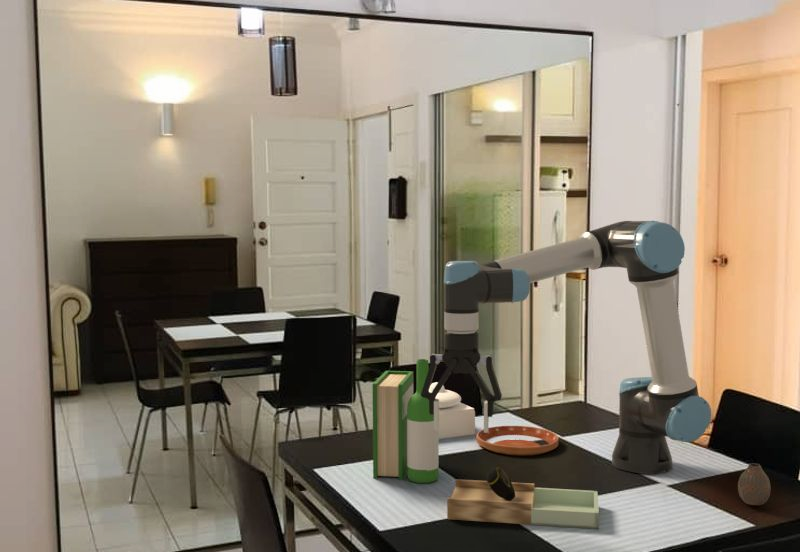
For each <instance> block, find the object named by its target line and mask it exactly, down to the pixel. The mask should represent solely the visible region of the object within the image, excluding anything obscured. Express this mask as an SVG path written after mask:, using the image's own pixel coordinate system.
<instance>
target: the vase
mask: <svg viewBox="0 0 800 552" xmlns="http://www.w3.org/2000/svg"><path fill="white" fill-rule="evenodd" d="M770 482H771V481H770V479H769V476H768V475H767V474H766V473H765V471H764V470H763V468H762V466H761V465H760V463H753V462H752V463H749V464H748V466H747V468H746V469H744V471H743V472H741V474H740V476H739V478H738V482H737V491H738V495H739V497H740V498H741V500H742V501H743V503H745V504H748V505H750V506H762V505H763V504H765V503H767V502H768V500H769V497H770V496H771V483H770Z"/></svg>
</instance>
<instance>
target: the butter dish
mask: <svg viewBox="0 0 800 552" xmlns="http://www.w3.org/2000/svg"><path fill="white" fill-rule="evenodd" d="M438 382H439V381H438ZM438 382H437V381H436V382H431V385H430V388H429V392H430V393H432V391H433V390H434V388H435V387H436V385H437V383H438ZM435 399H439V428H438V440H441V439H448V438H449V439H450V438H456V437H464V436H470V435H476V411H475V408H474V407H471V406H469V405H467V404H465V403H462V402H461V401H462V397H461V395H460V394H458V393H457V392H455V391H452V390H449V389H445V386H444V385H443V386H442V388H441V389H440V391H439V392H438V394H437V396H436V397H435Z"/></svg>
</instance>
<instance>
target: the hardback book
mask: <svg viewBox="0 0 800 552" xmlns="http://www.w3.org/2000/svg"><path fill="white" fill-rule="evenodd" d="M413 394H414V371H407V370H403V371H402V370H401V371H400V370H385V371H384V372H383V373H382V374H381V375H380V376H379V377H378V378H377V379H376V380H374V382H373V383H372V475H373V477H372V478H373V479H375V478H376V479H378V478H379V477H398V480H399V481H403V480H404V478H405V476H406V474H407V405H408V401H409V399H410V398H411V397H412V395H413ZM377 477H378V478H377Z"/></svg>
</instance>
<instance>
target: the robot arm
mask: <svg viewBox="0 0 800 552" xmlns="http://www.w3.org/2000/svg"><path fill="white" fill-rule="evenodd" d="M685 251H686V250H685V242H684V239H683V236H682V235H681V233H680V232H679V231H678V229H677V228H675V227H674V226H672V225H671V224H669V223H667V222H661V221H657V220H633V221H632V220H622V221H618V222H614V223H611V224H607V225H605V226H603V227H598V228H596V229H595V228H594V229H593V230H588V231H586V232H585V231H584V232H583V233H582V234H580V237H579V238H575V239H570V240H568V241H564V242H560V243H556V244H552V245H549V246H545V247H541V248H537V249H534V250H530V251H526V252H523V253H519V254H514V255H511V256H507V257H503V258H499V259H495V260H494V261H493V260H492V261H488V262H485V263H484V262H483V263H482V264H479V262H477V261H475V260H451V261H448V262H447V263H446V264H445V266H444V277H443V284H444V286H443V287H444V311H443V313H444V316H443V318H444V320H443V322H444V324H443V327H444V330H445V332H444V335H443V336H444V337H443V338H444V340H443V343H444V345H443V347H444V351H443V353H442V354H439V353H432V354H431V355H430V356H429V371H428V374H427V377H426V380H425V383H424V386H423V389H422V392H421V396H422V397H425V398H427V399H428V400H429V413H430V414H434V430H438V428H439V399H435V397H436V396H437V394H438V392H439V391H440V389H441V388H442V386H444V384H445V382H446V381H447V380H448V378H449V376H450V375H451V374H452V373H453V374H464V375H466V374H467V375H468V374H469V375H470V376H471V377H472V378H473V380H474V381H475V383H476V385H477V386H478V388H479V390H480V391H481V393H482V394H483V396H484V398H485V399H486V400H484V403H483V429H484V433H487V432H488V428H489V418H493V415H494V407H495V405H494V403H495V402H497V401H501V399H502V396H503V393H502V392H501V388H500V385H499V381H498V379H497V376H496V375H497V374H496V372H495V369H494V365H493V363H494V362H493V361H494V357H493V355H491V354H489V355H481V354H480V352H479V333H478V330H479V310H480V309H479V305H480V304H496V303H497V304H498V303H499V304H502V303H511V304H513V303H517V302H523V301H525V300H526V299H528V297H529V294H530V292H531V291H530V290H531V284H532V283H537V282H539V281H544V280H546V279H547V280H548V279H551V278H554V277H557V276H562V275H565V274H569V273H572V272H575V271H580V270H583V269H586V268H588V269H590V270H593V271H594V270H599V269H603V268H625V269H626V273H627V278H628V282H629V283H631V284H632V285H633V286H634V287H635V288H636V292H637V297H638V302H639V303H638V305H639V309H640V316H641V322H642V327H643V333H644V339H645V345H646V350H647V356H648V361H649V368H650V374H651V376H645V377H644V376H642V377H641V376H640V377H628V378H624V379H622V380H621V382H620V383H619V384H620V385H619V392H618V395H619V406H618V407H619V410H618V411H619V415H618V416H619V425H618V427H619V428H618V430H619V431H618V436H617V440H616V443H615V446H614V448H613V451H612V454H611V464H612V466H613V467H615V468H616V469H619V470H621V471H625V472H630V473H635V474H637V473H638V474H661V473H666V472H669V471H671V470H672V469H673V458H672V455H671V452H670V448H669V444H668V442H667V438H669V439H671V440H673V441H677V442H678V441H679V442H682V443H690V442H691V443H692V442H694V441H696V440H698V439H700V437H702V436H703V435H704V434H705V433H706V430H707V429H708V428H709V426H710V423H711V421H712V420H711V419H712V408H711V406H710V404H709V402H708V401H707V400H706V399H705V398H704V397H703V396H700V394H699V390H698V384H697V381H696V379H693V378H692V377H691V376H690V374H689V370H688V369H689V368H688V362H687V357H686V351H685V345H684V344H685V343H684V340H683V339H684V338H683V332H682V325H681V320H680V315H679V309H678V302H677V297H676V289H675V284H674V283H675V282H674V281H675V279H676V278H677V277H678V275H679V266H680V265H681V263H682V262H683V261H682V260H683V258H684V257H685ZM441 360H442V361H443V362H444V364H445V365H446V367H447V368H446V369H445V371H444V372H443V374H442V375H441V377H440V378H439V380H438V383H437V385H436V387H435V388H434V390H433V391H432V393H430V392H428V391H429V388H430V385H431V384H432V383H433V378H434V375H435V372H436V370H437V366H438V365H439V364H440V362H441ZM480 362H482V365H483V366H485V369H486V373H487V375H488V378H489V383H490V384H491V388H492V391H490V389H489V387H488V386H487V384H486V382H485V381H484V379H483V377H482V375H481V374H480V372H479V370H478V368H477V365H478V364H479V363H480ZM492 392H493V394H492ZM666 437H667V438H666Z"/></svg>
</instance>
